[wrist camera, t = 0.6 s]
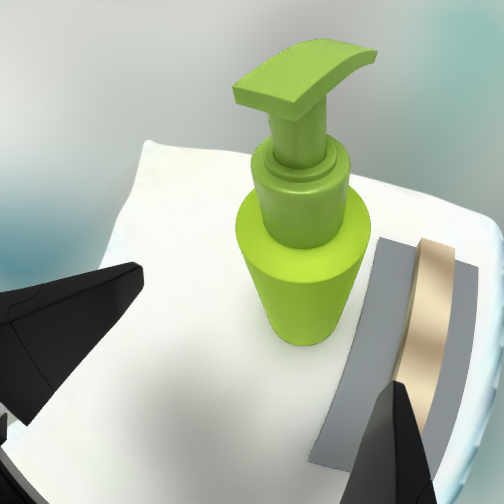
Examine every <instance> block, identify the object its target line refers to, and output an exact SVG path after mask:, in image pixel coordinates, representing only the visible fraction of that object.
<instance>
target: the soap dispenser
mask: <svg viewBox="0 0 504 504" xmlns="http://www.w3.org/2000/svg"><path fill="white" fill-rule="evenodd" d="M376 55H377V51H375V50H372V49H368V48H365V47H361V46H357V45H353V44H349V43H345V42H340V41H335V40H331V39H316V40H310V41H306V42H302V43H299V44H296V45H294V46H292V47H290V48H287V49H286V50H284V51H282V52H280V53H278V54H277V55H275V56H274V57H272V58H270V59H269V60H267V61H266V62H264V63H263V64H261V65H260V66H258V67H257V68H255V69H254V70H253V71H252V72H250V73H249V74H247V75H246V76H244V77H243V78H242V79H241V80H239V81H238V82H237V83H235V84H234V85H233V86H232V89H233V93H234V97H235V101H236V103H237V104H240V105H243V106H247V107H250V108H253V109H257V110H260V111H263V112H267V113H268V119H269V125H270V131H271V136H270V137H269V138H267V139H265V140H264V141H263V142H262V143H261V144H260V145H259V146H258V147H257V148H256V150H255V151H254V153H253V155H252V158H251V172H252V177H253V181H254V185H255V188H254V189H253V190H252V191H251V192H250V193H249V194H248V195H247V197H246V198H245V199H244V201H243V202H242V204H241V206H240V208H239V211H238V214H237V218H236V227H235V228H236V237H237V241H238V244H239V247H240V249H241V252H242V254H243V257H244V259H245V262H246V264H247V267H248V269H249V272H250V274H251V277H252V279H253V282H254V284H255V286H256V289H257V291H258V294H259V296H260V299H261V301H262V304H263V306H264V308H265V311H266V313H267V316H268V318H269V321H270V323H271V326H272V328H273V329H274V331H275V332H276V334H277V335H278V336H279V337H280V338H281V339H283V340H284V341H286V342H288V343H290V344H293V345H297V346H310V345H314V344H317V343H319V342H321V341H323V340H325V339H326V338H327V337H328V336H329V335H330V334H331V333H332V332H333V331H334V329H335V327H336V325H337V323H338V321H339V318H340V316H341V314H342V311H343V309H344V306H345V304H346V301H347V299H348V296H349V294H350V291H351V289H352V286H353V284H354V281H355V278H356V276H357V273H358V270H359V268H360V265H361V262H362V259H363V257H364V254H365V251H366V248H367V245H368V242H369V238H370V232H371V222H370V216H369V213H368V210H367V207H366V205H365V203H364V202H363V200H362V199H361V197H360V196H359V195H358V193H357V192H356V191H355V190H354V189H353V188H351V187H350V186H349V185H348V184H349V176H350V158H349V155H348V152H347V151H346V149H345V148H344V146H343V145H342V144H341V143H340V142H339V141H337V140H336V139H335V138H333V137H331V136H330V135H327V134H326V94H327V93H328V92H330V91H331V90H332V89H333V88H334V87H335V86H336V85H338V84H339V83H340V82H341V81H342V80H344V79H345V78H346V77H347V76H348V75H349V74H351V73H352V72H354V71H355V70H357V69H358V68H360V67H362V66H364V65H368V64H372V63H374V61H375V58H376Z"/></svg>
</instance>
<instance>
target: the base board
mask: <svg viewBox="0 0 504 504" xmlns="http://www.w3.org/2000/svg"><path fill="white" fill-rule="evenodd" d="M415 254H416V247H413V246H409V245H406V244H402V243H399V242H396V241H392V240H389V239H385V238H381V237H379V239H378V243H377V248H376V253H375V258H374V262H373V267H372V272H371V276H370V280H369V285H368V289H367V293H366V297H365V301H364V305H363V309H362V312H361V316H360V320H359V323H358V327H357V330H356V334H355V337H354V341H353V344H352V347H351V350H350V353H349V357H348V360H347V363H346V366H345V369H344V372H343V375H342V377H341V380H340V383H339V386H338V389H337V391H336V394H335V397H334V399H333V402H332V405H331V407H330V410H329V412H328V415H327V417H326V420H325V422H324V425H323V427H322V429H321V432H320V434H319V436H318V439H317V441H316V443H315V446H314V448H313V450H312V452H311V454H310V456H309V459H308V462H311V463H315V464H318V465H322V466H326V467H330V468H334V469H338V470H343V471H347V472H351V471H352V468H353V465H354V462H355V459H356V456H357V452H358V449H359V446H360V443H361V439H362V437H363V434H364V431H365V429H366V426H367V424H368V421H369V419H370V416H371V413H372V410H373V408H374V405H375V402H376V399H377V397H378V395H379V393H380V392H381V391H382V390H383V389H384V388H385V387H386V386H387V385H388V384H389V381H390V378H391V374H392V371H393V367H394V364H395V360H396V356H397V352H398V348H399V344H400V340H401V336H402V331H403V327H404V322H405V317H406V312H407V307H408V302H409V296H410V290H411V284H412V277H413V270H414V262H415ZM477 295H478V267H476V266H473V265H470V264H467V263H464V262H461V261H458V260H455V262H454V280H453V293H452V303H451V311H450V319H449V326H448V333H447V339H446V344H445V350H444V355H443V360H442V364H441V369H440V373H439V377H438V382H437V386H436V389H435V393H434V397H433V400H432V404H431V407H430V410H429V414H428V417H427V420H426V423H425V426H424V429H423V432H422V434H421V438H422V442H423V446H424V450H425V453H426V457H427V461H428V466H429V470H430V474H431V480H432V482H433V480H434V478H435V475H436V473H437V471H438V468H439V466H440V463H441V461H442V459H443V456H444V453H445V451H446V448H447V445H448V442H449V440H450V437H451V434H452V431H453V428H454V424H455V421H456V418H457V415H458V411H459V407H460V404H461V400H462V396H463V392H464V388H465V383H466V379H467V374H468V369H469V363H470V358H471V352H472V345H473V338H474V330H475V321H476V310H477Z"/></svg>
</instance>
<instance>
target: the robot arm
mask: <svg viewBox="0 0 504 504" xmlns="http://www.w3.org/2000/svg"><path fill="white" fill-rule="evenodd" d="M143 287H144V274H143V268H142V266H141V265H139V264H137V263H135V262H128V263H124V264H120V265H116V266H112V267H108V268H103V269H99V270H95V271H91V272H87V273H83V274H79V275H75V276H71V277H67V278H63V279H59V280H55V281H51V282H48V283H45V284H44V283H43V284H39V285H35V286H31V287H27V288H22V289H17V290H12V291H6V292H0V504H49V503H48V502H47V501H46V500H45V499H44V498H43V497H42V496H41V495H40V494H39V493H38V492H37V491H36V489H35V488H34V487H33V486H32V485H31V484H30V483H29V482H28V481H27V479H26V478H25V477H24V476H23V475H22V473H21V472H20V471H19V470H18V469H17V467H16V466H15V465H14V464H13V462H12V461H11V460H10V458H9V457H8V456H7V454H6V453H5V452H4V450H3V449H2V448H1V445H2V444H3V443H4V442H5V441H6V440H7V413H6V411H7V410H9V411H10V412H11V413H12V414H13V415H14V416H15V417H16V418H18V419H19V420H20V421H21V422H22V423H23V424H24V425H26V426H28V425H29V424H30V423H31V422H32V420H33V419H34V418H35V417H36V415H37V414H38V413H39V412H40V410H41V409H42V408H43V407H44V405H45V404H46V403H47V402H48V401H49V399H50V398H51V397H52V396H53V394H54V393H55V392H56V391H57V389H58V388H59V387H60V386H61V385H62V384H63V382H64V381H65V380H66V379H67V378H68V377H69V375H70V374H71V373H72V372H73V371H74V370H75V368H76V367H77V366H78V365H79V364H80V363H81V362H82V360H83V359H84V358H85V357H86V356H87V355H88V354H89V352H90V351H91V350H92V349H93V348H94V347H95V346H96V345H97V344H98V342H99V341H100V340H101V339H102V338H103V337H104V336H105V335H106V334H107V332H108V331H109V330H110V329H111V328H112V327H113V326H114V325H115V324H116V323H117V322H118V320H119V319H120V318H121V317H122V315H123V314H124V313H125V312H126V310H127V309H128V308H129V306H130V305H131V304H132V302H133V301H134V300H135V298H136V297H137V296H138V294H139V293H140V292H141V291H142V289H143ZM340 504H437V501H436V496H435V492H434V487H433V483H432V480H431V474H430V470H429V466H428V461H427V457H426V453H425V450H424V446H423V442H422V438H421V435H420V431H419V428H418V425H417V421H416V418H415V415H414V411H413V408H412V405H411V402H410V399H409V396H408V393H407V390H406V387H405V385H404V384H403V383H402V382H399V381H396V380H393V381H391V382H390V383H389V384H388V385H387V386H386V387H385V388H384V389H383V390H382V391H381V392H380V393H379V395H378V397H377V399H376V402H375V405H374V408H373V410H372V413H371V416H370V419H369V421H368V424H367V426H366V429H365V431H364V434H363V437H362V439H361V443H360V446H359V449H358V452H357V456H356V459H355V462H354V465H353V468H352V471H351V474H350V477H349V480H348V483H347V486H346V488H345V491H344V494H343V496H342V499H341V501H340Z"/></svg>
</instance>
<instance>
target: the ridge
mask: <svg viewBox="0 0 504 504" xmlns="http://www.w3.org/2000/svg"><path fill="white" fill-rule="evenodd" d="M454 262H455V248H453V247H450V246H447V245H443V244H440V243H437V242H434V241H431V240H427V239H424V238H421V240H420V242H419V244H418V245H417V247H416V254H415V262H414V270H413V277H412V284H411V290H410V296H409V302H408V307H407V312H406V317H405V322H404V327H403V331H402V336H401V340H400V344H399V348H398V352H397V356H396V360H395V364H394V367H393V371H392V374H391V378H390V381H389V383H390V382H391V381H393V380H396V381H399V382H402V383H403V384H404V385H405V387H406V390H407V393H408V396H409V399H410V402H411V405H412V408H413V411H414V415H415V418H416V421H417V425H418V428H419V431H420V435H421V434H422V432H423V429H424V426H425V423H426V420H427V417H428V414H429V410H430V407H431V404H432V400H433V397H434V393H435V389H436V386H437V382H438V377H439V373H440V369H441V364H442V360H443V355H444V350H445V344H446V339H447V333H448V326H449V319H450V311H451V303H452V293H453V280H454Z"/></svg>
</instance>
